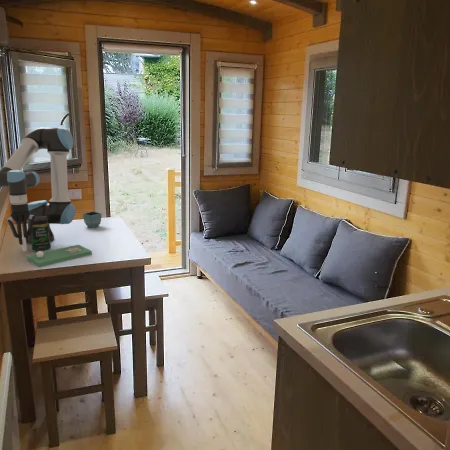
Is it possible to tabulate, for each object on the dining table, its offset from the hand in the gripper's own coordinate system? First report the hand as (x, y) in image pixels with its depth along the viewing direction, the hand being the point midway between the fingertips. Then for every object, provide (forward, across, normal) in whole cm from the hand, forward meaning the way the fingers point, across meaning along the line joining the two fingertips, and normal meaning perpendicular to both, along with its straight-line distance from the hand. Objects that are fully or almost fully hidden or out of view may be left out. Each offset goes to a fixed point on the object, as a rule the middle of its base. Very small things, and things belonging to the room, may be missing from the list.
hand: (24, 250), depth 209 cm
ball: (+4, +7, 0) cm, 8 cm away
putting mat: (+8, +17, 0) cm, 19 cm away
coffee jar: (+8, +15, +19) cm, 26 cm away
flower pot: (+7, +58, +43) cm, 73 cm away
